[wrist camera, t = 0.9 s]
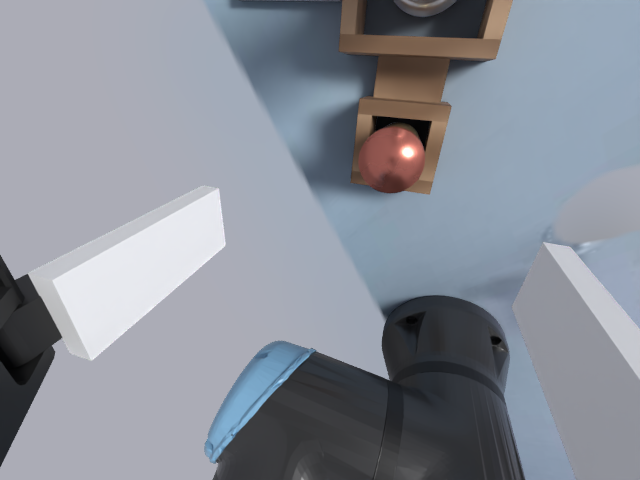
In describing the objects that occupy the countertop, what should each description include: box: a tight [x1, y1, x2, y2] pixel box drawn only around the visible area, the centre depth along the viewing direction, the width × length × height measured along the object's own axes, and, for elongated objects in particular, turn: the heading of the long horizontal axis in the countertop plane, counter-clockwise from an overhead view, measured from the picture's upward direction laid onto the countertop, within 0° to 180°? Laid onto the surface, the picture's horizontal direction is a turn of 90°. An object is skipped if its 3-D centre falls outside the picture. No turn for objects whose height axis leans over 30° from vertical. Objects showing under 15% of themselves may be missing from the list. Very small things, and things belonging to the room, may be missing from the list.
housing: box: [339, 0, 513, 194], centre depth 25 cm, size 23×12×4 cm, turn 176°
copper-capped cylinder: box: [358, 122, 425, 193], centre depth 25 cm, size 5×5×7 cm
